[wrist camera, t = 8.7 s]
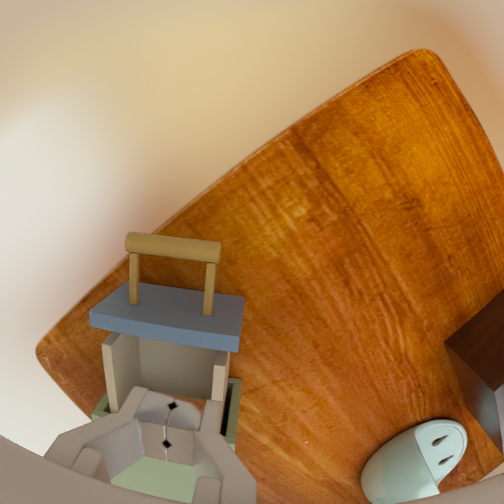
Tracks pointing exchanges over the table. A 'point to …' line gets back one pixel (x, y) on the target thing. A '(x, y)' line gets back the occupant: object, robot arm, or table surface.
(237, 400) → the cabinet
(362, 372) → the table surface
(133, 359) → the drawer
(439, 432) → the planter
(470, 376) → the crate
